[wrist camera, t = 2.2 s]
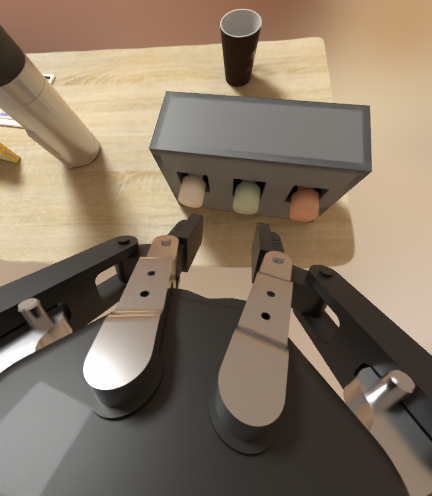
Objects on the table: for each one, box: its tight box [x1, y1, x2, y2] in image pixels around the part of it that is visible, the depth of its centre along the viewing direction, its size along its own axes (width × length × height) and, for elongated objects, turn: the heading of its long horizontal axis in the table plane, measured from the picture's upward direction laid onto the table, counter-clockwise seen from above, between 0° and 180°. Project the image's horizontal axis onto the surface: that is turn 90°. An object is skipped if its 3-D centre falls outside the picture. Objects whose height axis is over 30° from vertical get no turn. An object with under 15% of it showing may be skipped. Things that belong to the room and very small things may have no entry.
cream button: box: [178, 173, 206, 208], centre depth 31 cm, size 7×4×4 cm, turn 170°
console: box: [149, 91, 372, 222], centre depth 32 cm, size 10×28×16 cm, turn 80°
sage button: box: [233, 180, 260, 215], centre depth 30 cm, size 7×4×4 cm, turn 170°
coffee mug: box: [220, 9, 262, 87], centre depth 44 cm, size 12×9×10 cm
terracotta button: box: [290, 186, 319, 222], centre depth 29 cm, size 7×4×4 cm, turn 170°
